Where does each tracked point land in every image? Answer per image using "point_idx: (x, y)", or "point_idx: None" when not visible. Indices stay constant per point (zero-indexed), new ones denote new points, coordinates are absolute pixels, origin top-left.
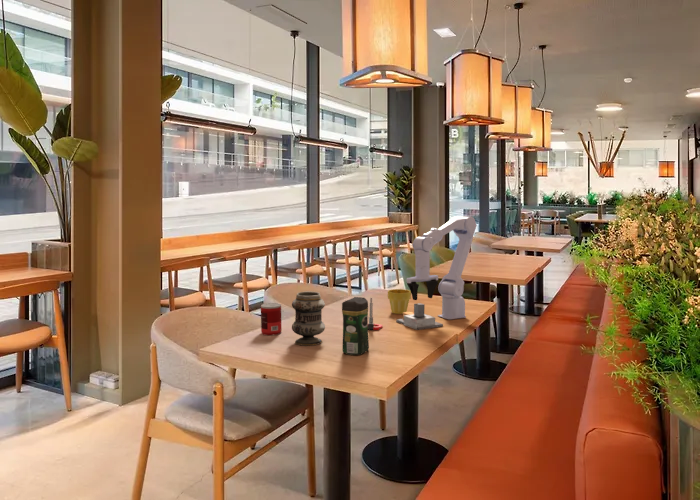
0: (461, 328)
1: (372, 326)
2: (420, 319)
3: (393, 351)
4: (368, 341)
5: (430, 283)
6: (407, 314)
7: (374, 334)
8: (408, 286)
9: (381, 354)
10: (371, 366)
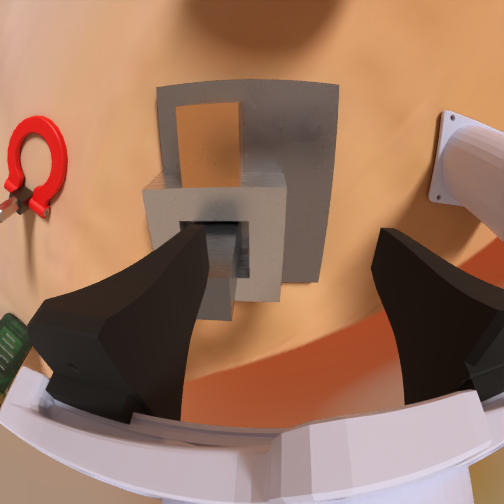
0: (348, 320)
1: (23, 209)
2: None
3: None
4: (27, 352)
5: (432, 378)
6: (181, 162)
7: (36, 248)
8: (78, 293)
9: None
10: (49, 376)
